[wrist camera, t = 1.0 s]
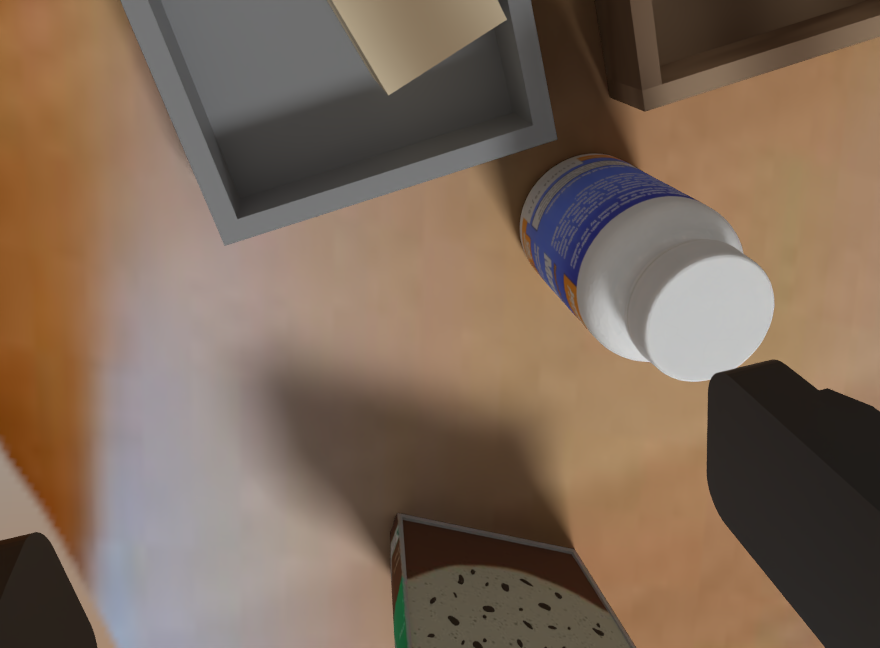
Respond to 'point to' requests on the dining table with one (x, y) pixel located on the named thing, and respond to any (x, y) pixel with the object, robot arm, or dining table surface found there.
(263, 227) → the tray left
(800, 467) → the robot arm
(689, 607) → the dining table surface
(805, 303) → the dining table surface
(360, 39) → the wooden cube
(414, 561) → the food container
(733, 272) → the pill bottle
